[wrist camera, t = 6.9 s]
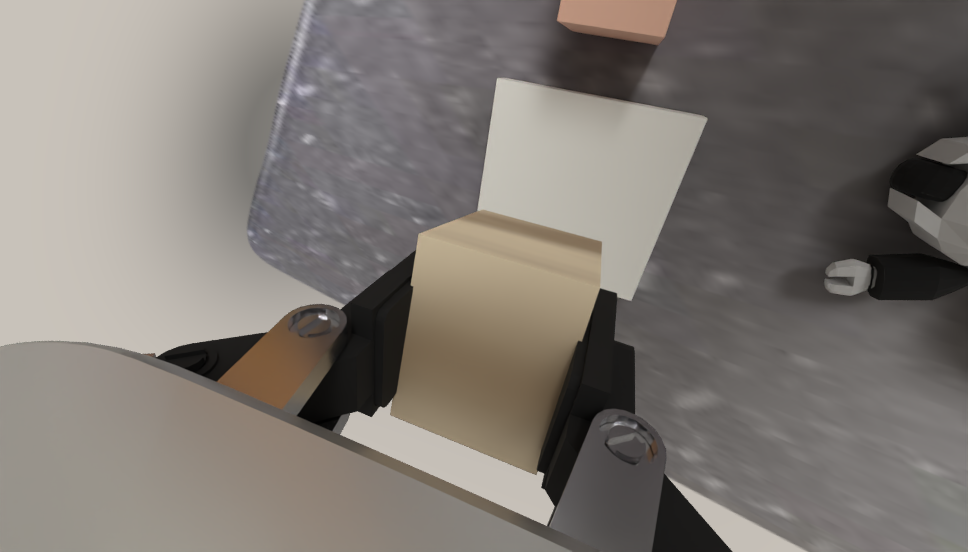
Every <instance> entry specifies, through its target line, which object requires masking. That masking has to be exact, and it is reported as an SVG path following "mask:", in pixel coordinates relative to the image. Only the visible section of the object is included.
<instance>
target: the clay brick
mask: <svg viewBox="0 0 968 552" xmlns="http://www.w3.org/2000/svg"><path fill="white" fill-rule="evenodd" d="M676 2H677V0H561V3H560V8H559V13H558V18H557V21H558V22H559V23H561V24H562V25H564V26H565V27H567V28H568V29H570V30H571V31H573V32H578V33H584V34H591V35H597V36H603V37H609V38H616V39H622V40H628V41H635V42H641V43H647V44H653V45H659V43H660V42H661V41H662V40H663V39H664V38H665V35H666V32H667V29H668V26H669V23H670V20H671V17H672V14H673V11H674V8H675V5H676Z"/></svg>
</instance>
